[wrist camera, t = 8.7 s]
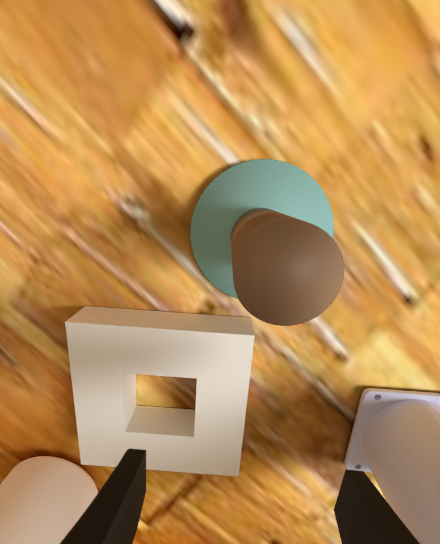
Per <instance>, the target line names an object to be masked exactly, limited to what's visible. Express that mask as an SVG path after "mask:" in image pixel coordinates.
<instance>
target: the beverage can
mask: <svg viewBox="0 0 440 544" xmlns="http://www.w3.org/2000/svg"><path fill="white" fill-rule="evenodd" d="M97 494H98V490H97V487H96V484H95V482H94V481H93V479H92V478H91V477H90V475H89V474H88V473H87V472H86V471H85V470H83V469H82V468H81V467H79V466H78V465H76V464H74V463H72V462H70V461H68V460H65V459H62V458H57V457H51V456H38V457H33V458H29V459H26V460H24V461H22V462H20V463H19V464H17V465H16V466H15V467H14V468H13V469H12V470H11V472H10V473H9V474H8V475H7V477H6V478H5V479H4V481H3V482H2V483H1V484H0V544H60V543H61V541H62V540H63V539H64V537H65V536H66V535H67V534H68V532H69V531H70V530H71V529H72V527H73V526H74V525H75V524H76V522H77V521H78V520H79V518H80V517H81V516H82V514H83V513H84V512H85V510H86V509H87V508H88V506H89V505H90V504H91V502H92V501H93V499H94V498H95V497H96V495H97Z"/></svg>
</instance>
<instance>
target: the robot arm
mask: <svg viewBox="0 0 440 544" xmlns="http://www.w3.org/2000/svg"><path fill="white" fill-rule="evenodd" d="M377 394H378V395H377ZM375 395H377V396H375ZM344 465H345V467H346V471H345V474H344V477H343V481H342V484H341V488H340V491H339V495H338V498H337V501H336V505H335V508H334V512H335V516H336V520H337V525H338V529H339V533H340V537H341V541H342V544H440V393H431V392H417V391H404V390H390V389H377V388H367V389H365V390H364V391H363V392H362V395H361V399H360V403H359V407H358V411H357V415H356V418H355V422H354V426H353V430H352V434H351V438H350V442H349V445H348V449H347V453H346V457H345V461H344ZM347 469H348V470H347ZM364 472H372V473H373V475H374V477H375V479H376V481H377V483H378V485H379V487H380V489H381V491H382V493H383V495H384V497H385V499H386V500H385V499H384V497H383V496H382V495H381V494H380V492H379V491H378V490H377V488H376V487H375V486H374V485H373V483H372V482H371V481H370V479H369V478H368V477H367V476H366V474H365V473H364ZM145 493H146V450H141V449H130V448H129V449H128V450H127V451H126V452H125V454H124V455H123V457H122V459H121V460H120V462H119V463H118V465H117V466H116V468H115V469H114V471H113V472H112V474H111V475H110V477H109V478H108V480H107V481H106V483H105V484H104V486H103V487H102V488H101V490H100V491H99V493H98V494H97V495H96V497H95V498H94V499H93V501H92V502H91V504H90V505H89V506H88V508H87V509H86V510H85V512H84V513H83V514H82V516H81V517H80V518H79V520H78V521H77V522H76V524H75V525H74V526H73V527H72V529H71V530H70V531H69V532H68V534H67V535H66V536H65V537H64V539H63V540H62V541H61V543H60V544H132V543H133V540H134V536H135V533H136V530H137V526H138V522H139V518H140V514H141V510H142V506H143V501H144V497H145Z"/></svg>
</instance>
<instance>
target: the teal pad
mask: <svg viewBox="0 0 440 544" xmlns="http://www.w3.org/2000/svg"><path fill="white" fill-rule="evenodd" d="M257 208H267V209H271V210H274V211H277V212H280V213H283V214H285V215H288V216H291V217H294V218H297V219H300V220H303V221H306V222H308V223H311V224H314V225H316V226H318V227H320V228H321V229H323V230H324V231H325V232H327V233H328V234H329V235H330V236H331V237H332V238H333V232H334V224H333V215H332V211H331V207H330V204H329V201H328V199H327V197H326V195H325V193H324V192H323V190H322V189H321V187H320V186H319V185H318V183H317V182H316V181H315V180H314V179H313V178H312V177H311V176H310V175H308V174H307V173H306V172H305V171H303V170H301V169H300V168H298V167H296V166H294V165H292V164H289V163H286V162H283V161H279V160H272V159H258V160H251V161H247V162H243V163H240V164H237V165H235V166H233V167H231V168H229V169H227V170H226V171H224V172H223V173H221V174H220V175H219V176H217V177H216V178H215V179H214V180H213V181H212V182H211V183H210V184H209V185H208V186H207V188H206V189H205V190H204V192H203V193H202V195H201V196H200V198H199V200H198V202H197V204H196V207H195V209H194V212H193V216H192V220H191V229H190V238H191V246H192V251H193V254H194V257H195V260H196V262H197V264H198V266H199V268H200V269H201V271H202V273H203V274H204V275H205V276H206V278H207V279H208V280H209V281H210V282H211V283H212V284H213V285H214V286H215V287H217V288H218V289H219V290H221V291H222V292H224V293H226V294H228V295H230V296H232V297H235V298H238V297H237V294H236V292H235V288H234V283H233V271H232V255H231V232H232V229H233V226H234V224H235V223H236V221H237V220H238V219H239V218H240V217H241V216H242V215H243V214H244V213H246V212H248V211H250V210H253V209H257Z"/></svg>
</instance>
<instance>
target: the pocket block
mask: <svg viewBox="0 0 440 544" xmlns="http://www.w3.org/2000/svg"><path fill="white" fill-rule="evenodd" d="M65 326H66V335H67V344H68V353H69V361H70V370H71V379H72V388H73V397H74V406H75V414H76V423H77V432H78V441H79V450H80V459H81V464H82V465H95V466H108V467H116V466H117V465H118V463H119V462H120V460H121V459H122V457H123V455H124V454H125V452H126V451H127V450H128V449H129V448H130V449H141V450H146V469H147V470H159V471H172V472H185V473H198V474H211V475H224V476H236V477H239V468H240V460H241V451H242V442H243V433H244V424H245V415H246V406H247V398H248V389H249V380H250V371H251V362H252V353H253V344H254V330H253V325H252V319H251V318H247V317H233V316H219V315H205V314H191V313H177V312H163V311H149V310H135V309H121V308H107V307H93V306H85V307H83V308H82V309H81V310H80V311H78V312H77V313H76V314H75V315H73V316H72V317H71V318H69V319H68V320H67V321H66V322H65ZM136 374H143V375H156V376H170V377H184V378H197V385H196V406H195V410H192V409H179V408H166V407H152V406H139V405H137V403H136Z"/></svg>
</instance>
